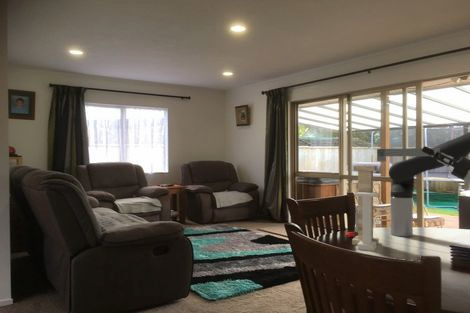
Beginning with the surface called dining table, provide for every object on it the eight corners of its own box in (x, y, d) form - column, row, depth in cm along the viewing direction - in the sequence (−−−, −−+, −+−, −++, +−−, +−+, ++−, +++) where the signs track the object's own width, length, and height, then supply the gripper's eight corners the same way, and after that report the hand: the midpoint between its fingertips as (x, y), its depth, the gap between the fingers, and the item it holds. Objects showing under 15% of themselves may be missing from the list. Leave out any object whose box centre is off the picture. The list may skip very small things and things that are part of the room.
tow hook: (344, 234, 173) (347, 237, 164) (344, 206, 174) (347, 208, 165) (362, 234, 172) (366, 238, 163) (362, 206, 172) (366, 208, 163)
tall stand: (356, 240, 158) (356, 165, 158) (378, 242, 154) (378, 165, 154) (352, 244, 151) (352, 165, 151) (375, 247, 147) (375, 166, 147)
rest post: (358, 245, 149) (358, 192, 149) (379, 248, 145) (379, 193, 145) (354, 248, 144) (354, 193, 144) (376, 251, 140) (376, 194, 140)
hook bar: (378, 161, 151) (378, 149, 151) (439, 161, 140) (439, 148, 140) (377, 161, 149) (376, 148, 149) (439, 161, 138) (439, 148, 138)
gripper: (474, 162, 139) (429, 140, 147) (477, 163, 127) (427, 139, 135) (462, 179, 141) (418, 156, 149) (464, 181, 129) (416, 157, 137)
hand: (423, 148), depth 142 cm, fingers closed on hook bar, 3 cm apart
